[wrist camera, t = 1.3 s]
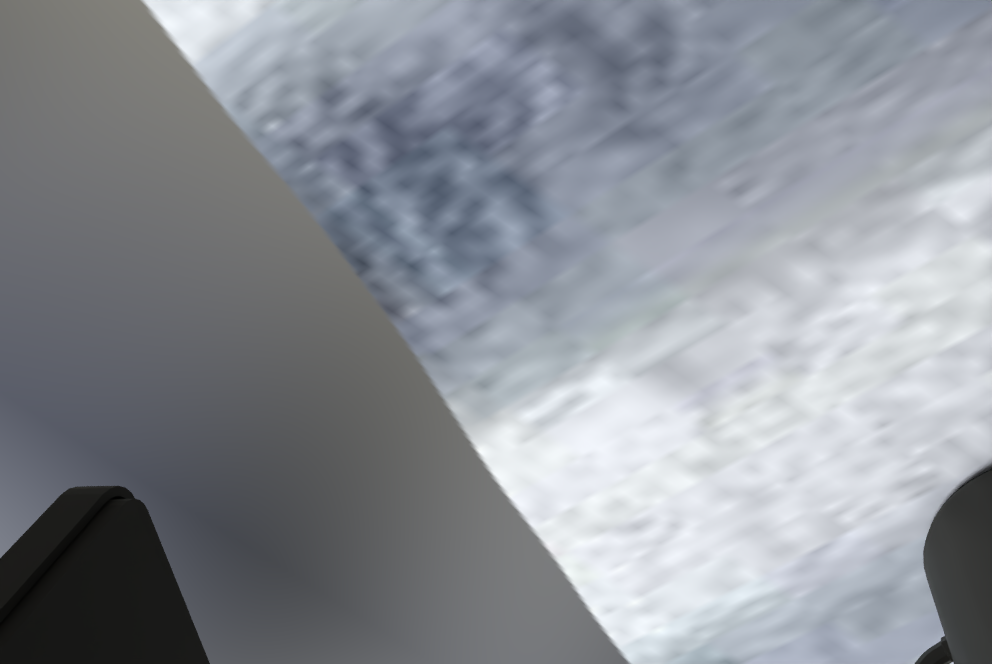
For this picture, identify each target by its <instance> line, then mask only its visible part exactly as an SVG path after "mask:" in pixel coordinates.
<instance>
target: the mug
mask: <svg viewBox="0 0 992 664" xmlns="http://www.w3.org/2000/svg"><path fill="white" fill-rule="evenodd" d="M923 555H924V569H925V573H926V577H927V580H928V584H929V587H930V590H931V593H932V596H933V599H934V602H935V605H936V609H937V612H938V615H939V618H940V621H941V624H942V627H943V630H944V634H945V636H944V637H942V638H941V641H940V642H939V643H937V644H935V645H934V646H932V647H931V648H929V649H928V650H927V651H925V652H924V653H923V654H922V655H921V656H920V658H919V659H918V660H917V661H916V662H915V664H950V663H951V662H954V664H992V470H990V471H987V472H985V473H983V474H981V475H980V476H978V477H976V478H975V479H973V480H971V481H970V482H968V483H967V484H965V485H964V486H963V487H962V488H960V489H959V490H958V491H957V492H955V493H954V494H953V495H952V496H951V497H950V498H949V499H948V501H947V502H946V503H945V504H944V505H943V506H942V508H941V509H940V510H939V512H938V513H937V515H936V516H935V518H934V520H933V522H932V524H931V527H930V529H929V532H928V534H927V538H926V541H925V546H924V551H923Z"/></svg>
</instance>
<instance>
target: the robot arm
mask: <svg viewBox="0 0 992 664" xmlns="http://www.w3.org/2000/svg"><path fill="white" fill-rule="evenodd" d="M0 664H210V663H209V661H208V658H207V656H206V653H205V651H204V648H203V646H202V643H201V641H200V639H199V636H198V633H197V631H196V628H195V626H194V623H193V621H192V619H191V616H190V614H189V611H188V609H187V606H186V604H185V601H184V599H183V597H182V594H181V591H180V589H179V586H178V584H177V582H176V579H175V577H174V574H173V572H172V569H171V567H170V564H169V562H168V559H167V557H166V554H165V552H164V549H163V547H162V545H161V542H160V540H159V537H158V534H157V532H156V530H155V527H154V525H153V522H152V520H151V517H150V515H149V512H148V510H147V508H146V506H145V505H144V503H142V502H141V501H140V500H137V499H135V498H134V496H133V494H132V493H131V492H130V491H129V490H128V489H126V488H124V487H120V486H90V487H89V486H87V487H74V488H70V489H68V490H67V491H65V492H64V493H63V494H61V495H60V496H59V498H58V499H57V500H56V501H55V502H54V503H53V504H52V505H51V506H50V507H49V508H48V509H47V510H46V511H45V512H44V513H43V514H42V515H41V516H40V517H39V518H38V520H37V521H36V522H35V523H34V524H33V525H32V526H31V527H30V528H29V529H28V530H27V531H26V532H25V533H24V534H23V536H21V537H20V538H19V540H18V541H17V542H16V543H15V544H14V545H13V546H12V547H11V548H10V549H9V550H8V551H7V552H6V553H5V554H4V555H3V556H2V557H1V558H0Z"/></svg>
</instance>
